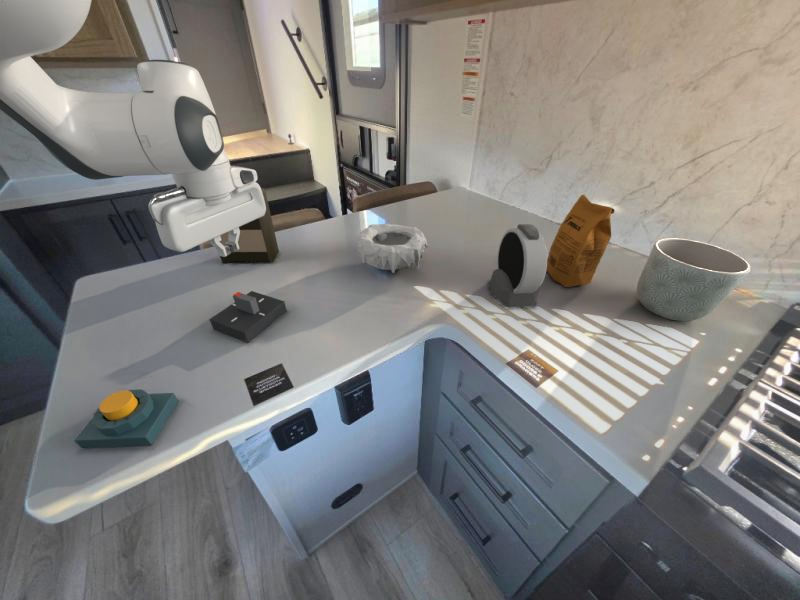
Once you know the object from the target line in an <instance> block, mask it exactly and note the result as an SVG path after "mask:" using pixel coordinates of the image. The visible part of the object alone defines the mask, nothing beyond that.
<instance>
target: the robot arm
mask: <svg viewBox="0 0 800 600" xmlns="http://www.w3.org/2000/svg"><path fill="white" fill-rule="evenodd" d="M91 5H92V0H0V111H1V112H3V113H4V114H6V115H7V116H8V117H10V119H12V120H14V121H15V122H16V123H17V124H19V125H20V126H21V127H22V128H24V129H25V130H26V131H27V132H29V133H30V134H31V135H33V137H35V138H36V139H37V140H38V142H40V143H41V144H42V146H43V147H44V148H45V149H46V151H48V152H49V153H50V154H51V156H52V157H54V158H55V160H57V161H58V162H59V163H60V164H62V165H63V166H64V167H66V168H68V169H69V170H70V171H72V172H74V173H75V174H78V175H79V176H81V177H83V178H85V179H89V180H93V181H94V180H95V181H98V180H99V181H100V180H106V179H117V178H122V177H135V176H136V177H137V176H163V175H164V176H165V175H172V178H173V180H174V183H175V186H176V187H175V188H172V189H169V190H167V191H161V192H157V193H155V194H153V198H151V199H150V200H149V203H148V206H147V207H148V211H149V213H150V215H151V217H152V219H153V220H154V222H155V227H156V230H157V233H158V236H159V239H160V241H161V243H162V245H163V247H165V248H166V249H169V250H170V251H174V252H178V253H184V252H186V251H189V250H191V249H193V248H195V247H198V246H200V245H202V244H205V243H206V242H207V243H209V244H210V245H212V246H213V247H214V248H215V249H216V252H217V254H218V255H220V256H222V257H226V256H227V255H229V254H231V252H235V251H237V250H239V245H238V239H239V235H240V230H239V227H240V226H242V225H244V224H246V223H249V222H251V221H253V220H255V219H258V218H260V217H262V216H264V215H265V211H266V205H265V201H264V197H263V193H262V190H261V188H262V187H261V186H260V184H259V183H258V182H257V181H258V173H257V171H256V170H255V169H252V168H248V167H245V166H243V167H242V166H237V165H234V164H231V163H230V159H229V157H228V155H227V153H226V151H225V149H224V148H225V143H224V138H223V133H222V131H221V127H220V123H219V120H218V117H217V113H216V111H215V108H214V106H213V102H212V99H211V97H210V94H209V92H208V89H207V87H206V85H205V83H204V80H203V78H202V75H201V74H200V72H199V71H198V69H197V68H195V67H194V66H191V65H190V64H188V63H185V62H181V61H175V60H170V59H147V60H143V61H141V62H139V63H137V66H136V70H137V75H138V80H139V84H140V87H141V91H139V92H101V91H100V92H97V91H96V92H95V91H85V90H78V89H72V88H68V87H64V86H61V85H59V84H57V83H56V82H55V80H53V79H52V78H51V77H50V76H49V74H47V73H46V71H45V70H43V68H42V67H41V66H40V65H39V64H38V63H37V62H36V61H35V60H34V59H33V58H32V57H34V56H37V55H43V54H46V53H51V52H52V51H55V50H58V49H60V48H62V47H63V46H64V45H66V44H68V43H69V42H70V41H72V40H73V38H74V37H75V36H76V35H77V34H78V33H79V31H80V30H81V29H82V28H83V26H84V24H85V22H86V20H87V18H88V15H89V13H90V10H91ZM226 232H229V237H228V242H226V243H225V245H223V244H221V243H220V242H219V241H221V237H220V235H222V234H224V233H226ZM220 256H219V257H220Z"/></svg>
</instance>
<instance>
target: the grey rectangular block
mask: <svg viewBox="0 0 800 600" xmlns="http://www.w3.org/2000/svg"><path fill="white" fill-rule="evenodd" d="M232 299H233V301H234V302H235V304H236V307H237V309H240V310H243V311H245V312H248V313H251V314H256V313H257V312H258V311H259V307H258V304H257V301H256V298H255V297H251V296H248V295H246V294H245V293H242V292H240V291H237V292H236V293H234V294H233V295H232Z"/></svg>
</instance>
